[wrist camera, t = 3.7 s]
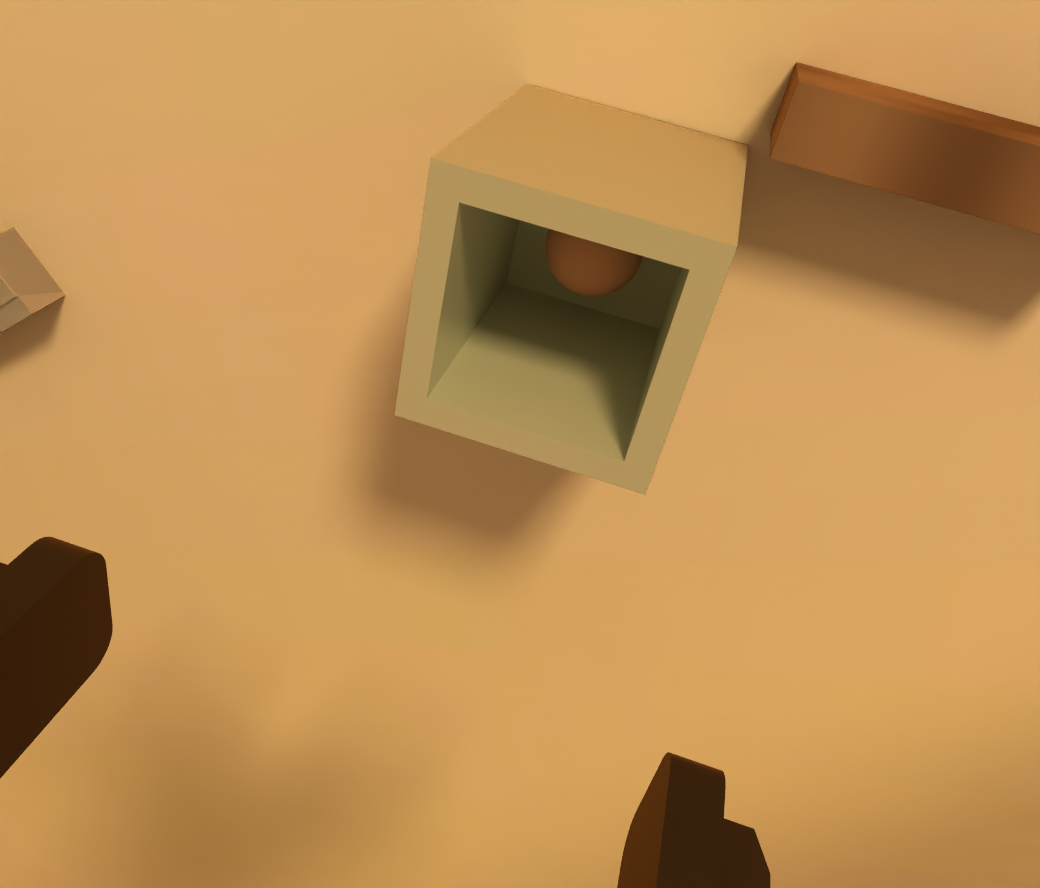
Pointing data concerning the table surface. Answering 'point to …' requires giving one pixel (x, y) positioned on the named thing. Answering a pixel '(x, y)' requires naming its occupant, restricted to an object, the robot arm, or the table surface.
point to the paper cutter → (22, 281)
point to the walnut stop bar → (910, 146)
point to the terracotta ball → (589, 264)
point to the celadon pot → (551, 306)
